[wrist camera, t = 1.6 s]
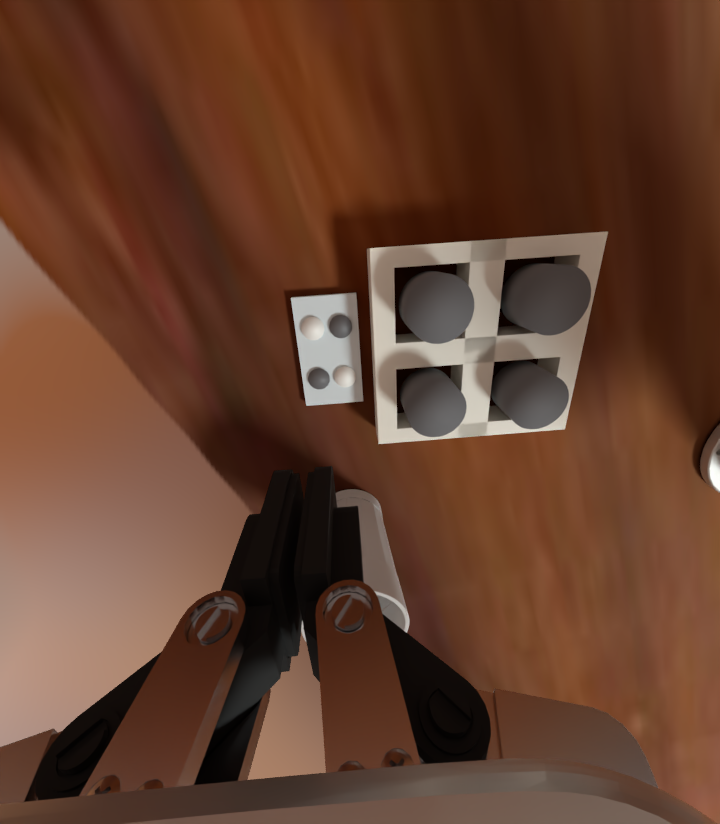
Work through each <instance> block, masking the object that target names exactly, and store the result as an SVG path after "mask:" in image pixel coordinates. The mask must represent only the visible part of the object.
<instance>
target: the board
mask: <svg viewBox="0 0 720 824" xmlns="http://www.w3.org/2000/svg"><path fill="white" fill-rule="evenodd" d="M607 235H608V231H607V232H593V233H579V234H564V235H550V236H536V237H522V238H508V239H493V240H479V241H465V242H451V243H436V244H422V245H408V246H394V247H380V248H368V249H367V265H368V285H369V305H370V325H371V345H372V365H373V385H374V405H375V425H376V432H377V437H378V443H379V444H385V443H397V442H410V441H422V440H435V439H448V438H460V437H473V436H485V435H498V434H511V433H523V432H536V431H548V430H561V429H565V426H566V421H567V417H568V412H569V408H570V403H571V399H572V394H573V389H574V385H575V380H576V376H577V371H578V367H579V362H580V358H581V353H582V349H583V344H584V339H585V335H586V330H587V326H588V321H589V317H590V312H591V308H592V303H593V298H594V294H595V289H596V285H597V280H598V276H599V271H600V267H601V262H602V257H603V253H604V248H605V244H606V239H607ZM553 256H555V260H554V264H565V265H573V266H576V267H578V268H580V269H581V270H582V271H584V273H585V274H586V275H587V277H588V279H589V281H590V285H591V298H590V302H589V305H588V308H587V310H586V312H585V313H584V315H583V316H582V318H581V319H580V320H579V321H578V322H577V323H576V324H575V325H574V326H573V327H571V328H570V329H568V330H567V331H565V332H562V333H560V334H556V335H541V334H538V333H536V332H533V331H531V330H528V329H526V328H523V327H521V326H518V325H516V326H503V327H498V321H499V312H500V303H501V294H502V284H503V275H504V266H505V260H511V259H525V258H539V257H553ZM454 263H457V266H456V276H458V277H460V278H461V279H463V280H464V281H465V282H466V283H467V284H468V286H469V287H470V289H471V291H472V293H473V297H474V313H473V317H472V319H471V322H470V323H469V325H468V327H467V328H466V329H465V331H464V332H463V333H462V334H461V335H460V336H458V337H457V338H455V339H453V340H452V341H449V342H446V343H442V344H432V343H428V342H425V341H423V340H421V339H419V338H418V337H417V336H416V335H415V334H414V333H409V334H395V285H394V268H398V267H412V266H426V265H440V264H454ZM526 359H538V363H537V365H538V366H539V367H541V368H543V369H545V370H546V371H548V372H550V373H551V374H553V375H555V376H557V377H558V378H560V379H562V380H563V381H564V383H565V384H566V386H567V388H568V391H569V400H568V404H567V406H566V408H565V410H564V412H563V413H562V415H561V416H560V417H559V418H558V419H557V420H555V421H554V422H553V423H551V424H550V425H548V426H545V427H543V428H539V429H525V428H522V427H520V426H518V425H517V424H516V423H514V422H513V421H512V420H511V419H510V418H509V417H508V416H507V415H506V414H505V413H504V412H503V411H502V410H501V409H500V408H499V407H498V406H497V405H496V406H489V404H490V395H491V386H492V377H493V367H494V362H499V361H513V360H526ZM447 365H451V381H452V382H453V383H454V384H455V385H456V386H457V388H458V389H459V390H460V391H461V392H462V394H463V395H464V397H465V400H466V405H467V408H466V414H465V417H464V419H463V421H462V422H461V424H460V425H459V426H458V427H457V428H456V429H455V430H454V431H452V432H450V433H448V434H446V435H444V436H440V437H427V436H423V435H421V434H419V433H417V432H416V431H415V430H414V429H413V428H412V427H411V425H410V424H409V421H408V419H407V416H406V414H405V413H397V390H396V369H407V368H421V367H434V366H447Z"/></svg>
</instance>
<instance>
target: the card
mask: <svg viewBox="0 0 720 824" xmlns="http://www.w3.org/2000/svg"><path fill="white" fill-rule="evenodd" d="M291 303H292V310H293V317H294V324H295V331H296V338H297V345H298V352H299V359H300V366H301V373H302V380H303V387H304V394H305V401H306V406H310V405H323V404H336V403H349V402H362V401H363V389H362V373H361V358H360V342H359V327H358V311H357V296H356V292H354V293H340V294H327V295H313V296H299V297H291Z"/></svg>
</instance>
